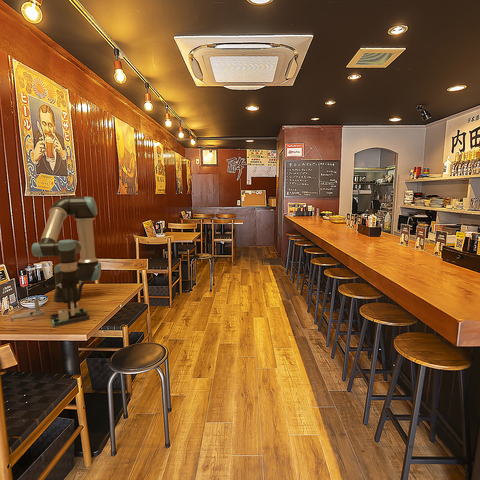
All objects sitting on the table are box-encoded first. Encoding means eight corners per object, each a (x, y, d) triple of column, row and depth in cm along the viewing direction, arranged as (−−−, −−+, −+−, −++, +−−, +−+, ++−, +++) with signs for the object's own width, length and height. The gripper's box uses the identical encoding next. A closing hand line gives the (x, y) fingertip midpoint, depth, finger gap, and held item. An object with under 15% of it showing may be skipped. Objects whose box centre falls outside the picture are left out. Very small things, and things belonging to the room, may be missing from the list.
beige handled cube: (58, 321, 156) (57, 309, 155) (67, 319, 159) (66, 307, 158) (59, 324, 153) (58, 311, 152) (68, 322, 156) (67, 309, 155)
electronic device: (10, 302, 163) (42, 297, 168) (12, 319, 164) (45, 314, 170) (7, 305, 158) (40, 300, 163) (9, 323, 159) (43, 317, 165)
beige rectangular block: (70, 314, 166) (69, 302, 165) (78, 312, 169) (77, 300, 168) (71, 316, 163) (70, 304, 162) (79, 314, 166) (78, 302, 165)
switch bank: (50, 319, 163) (49, 313, 163) (84, 312, 173) (83, 307, 172) (53, 330, 150) (52, 324, 149) (90, 321, 159) (89, 316, 159)
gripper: (54, 273, 148) (59, 320, 151) (84, 269, 156) (88, 314, 159) (53, 270, 154) (57, 315, 157) (82, 267, 162) (85, 309, 165)
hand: (72, 314), depth 158 cm, fingers closed
